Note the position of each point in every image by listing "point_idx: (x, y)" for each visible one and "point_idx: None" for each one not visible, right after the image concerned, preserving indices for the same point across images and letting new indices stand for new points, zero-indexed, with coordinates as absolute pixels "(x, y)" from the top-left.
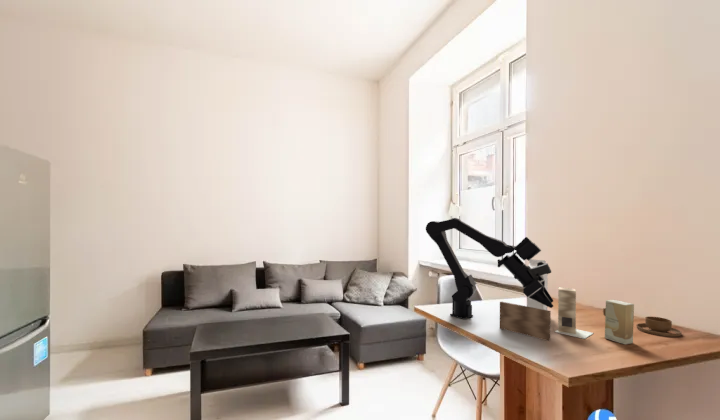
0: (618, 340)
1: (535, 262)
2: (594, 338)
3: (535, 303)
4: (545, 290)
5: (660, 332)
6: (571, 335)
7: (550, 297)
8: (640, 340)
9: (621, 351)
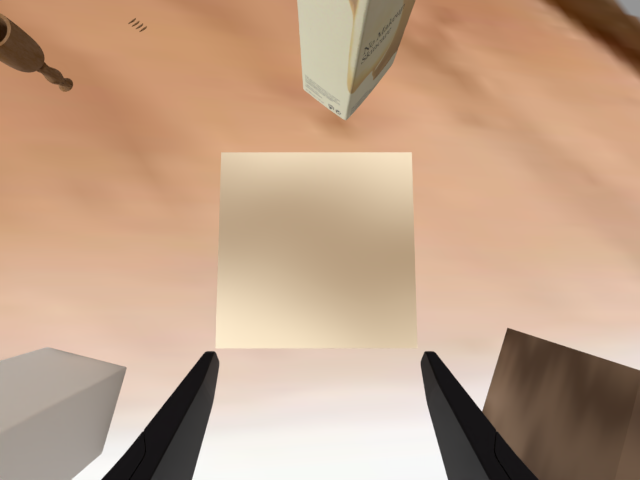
0: (382, 75)
1: None
2: None
3: (48, 453)
4: (160, 469)
5: None
6: None
7: (202, 384)
8: (293, 2)
9: (493, 86)
